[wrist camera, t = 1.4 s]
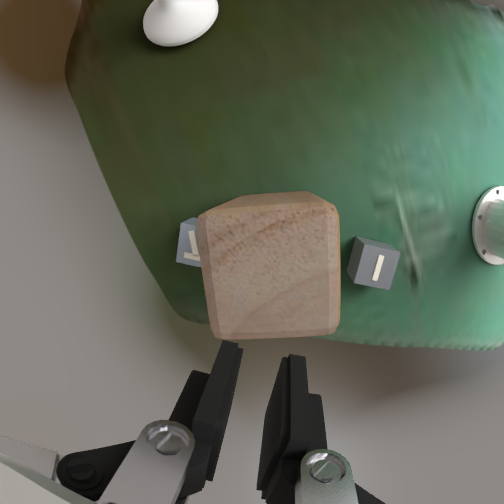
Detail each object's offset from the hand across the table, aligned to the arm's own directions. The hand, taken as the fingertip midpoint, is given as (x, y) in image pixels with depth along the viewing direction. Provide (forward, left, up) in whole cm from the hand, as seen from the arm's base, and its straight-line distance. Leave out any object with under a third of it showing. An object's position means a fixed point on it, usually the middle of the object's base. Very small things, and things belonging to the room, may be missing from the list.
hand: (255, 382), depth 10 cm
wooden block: (0, 0, -31) cm, 31 cm away
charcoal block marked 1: (-13, +1, -31) cm, 34 cm away
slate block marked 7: (+9, +3, -31) cm, 33 cm away
